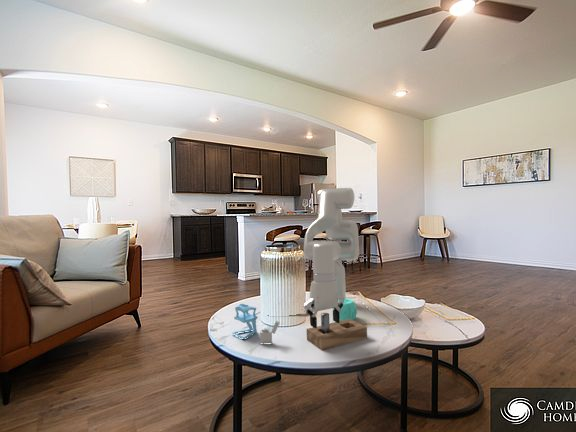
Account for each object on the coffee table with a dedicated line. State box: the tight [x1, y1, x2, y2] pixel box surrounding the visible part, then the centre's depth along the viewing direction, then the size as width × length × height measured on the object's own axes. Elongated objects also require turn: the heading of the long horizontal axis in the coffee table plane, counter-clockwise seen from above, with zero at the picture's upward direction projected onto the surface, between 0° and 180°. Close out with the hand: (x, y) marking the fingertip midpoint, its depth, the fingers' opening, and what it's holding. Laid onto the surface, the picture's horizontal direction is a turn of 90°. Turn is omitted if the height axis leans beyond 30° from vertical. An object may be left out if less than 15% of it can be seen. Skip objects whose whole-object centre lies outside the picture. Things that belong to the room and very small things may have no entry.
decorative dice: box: [332, 298, 358, 321], centre depth 131 cm, size 8×8×8 cm
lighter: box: [259, 320, 280, 344], centre depth 108 cm, size 7×2×8 cm, turn 87°
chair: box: [231, 303, 258, 339], centre depth 117 cm, size 8×8×12 cm
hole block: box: [306, 319, 368, 351], centre depth 111 cm, size 10×20×4 cm, turn 117°
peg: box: [320, 312, 330, 334], centre depth 108 cm, size 3×3×10 cm
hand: (325, 324), depth 108 cm, fingers open, 9 cm apart
